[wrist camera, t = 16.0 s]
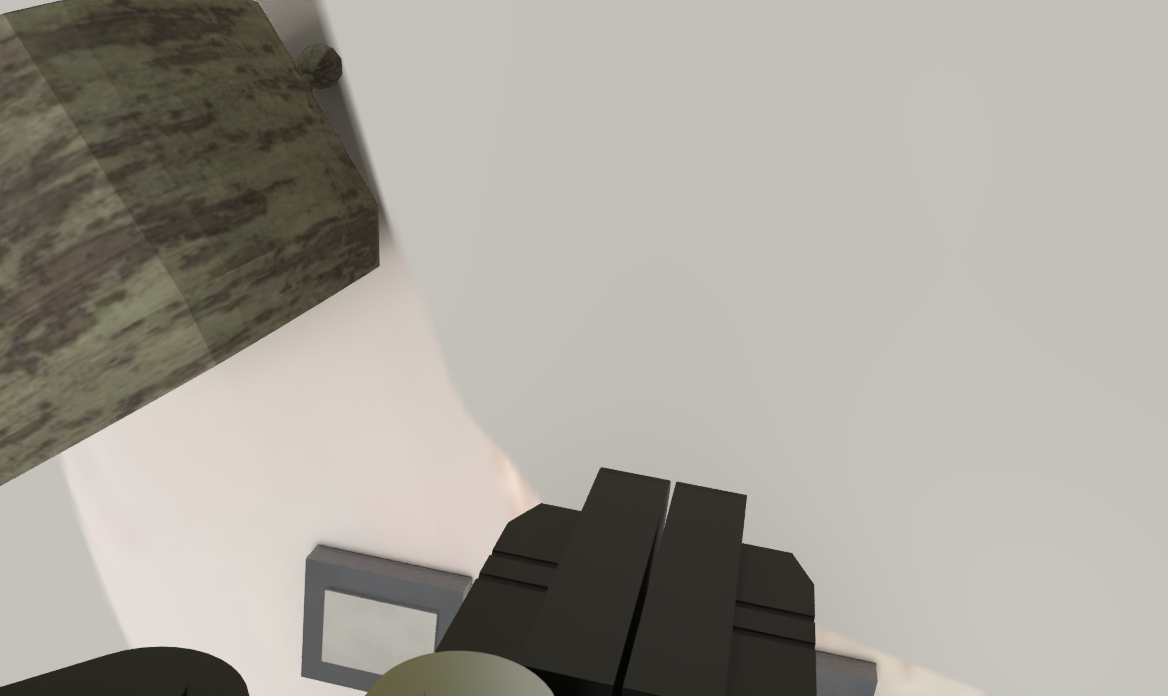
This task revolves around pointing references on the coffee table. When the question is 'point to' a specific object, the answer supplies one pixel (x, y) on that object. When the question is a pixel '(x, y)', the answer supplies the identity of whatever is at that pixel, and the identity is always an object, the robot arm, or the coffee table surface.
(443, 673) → the robot arm
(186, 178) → the ring-handled stone jug
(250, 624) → the coffee table surface
